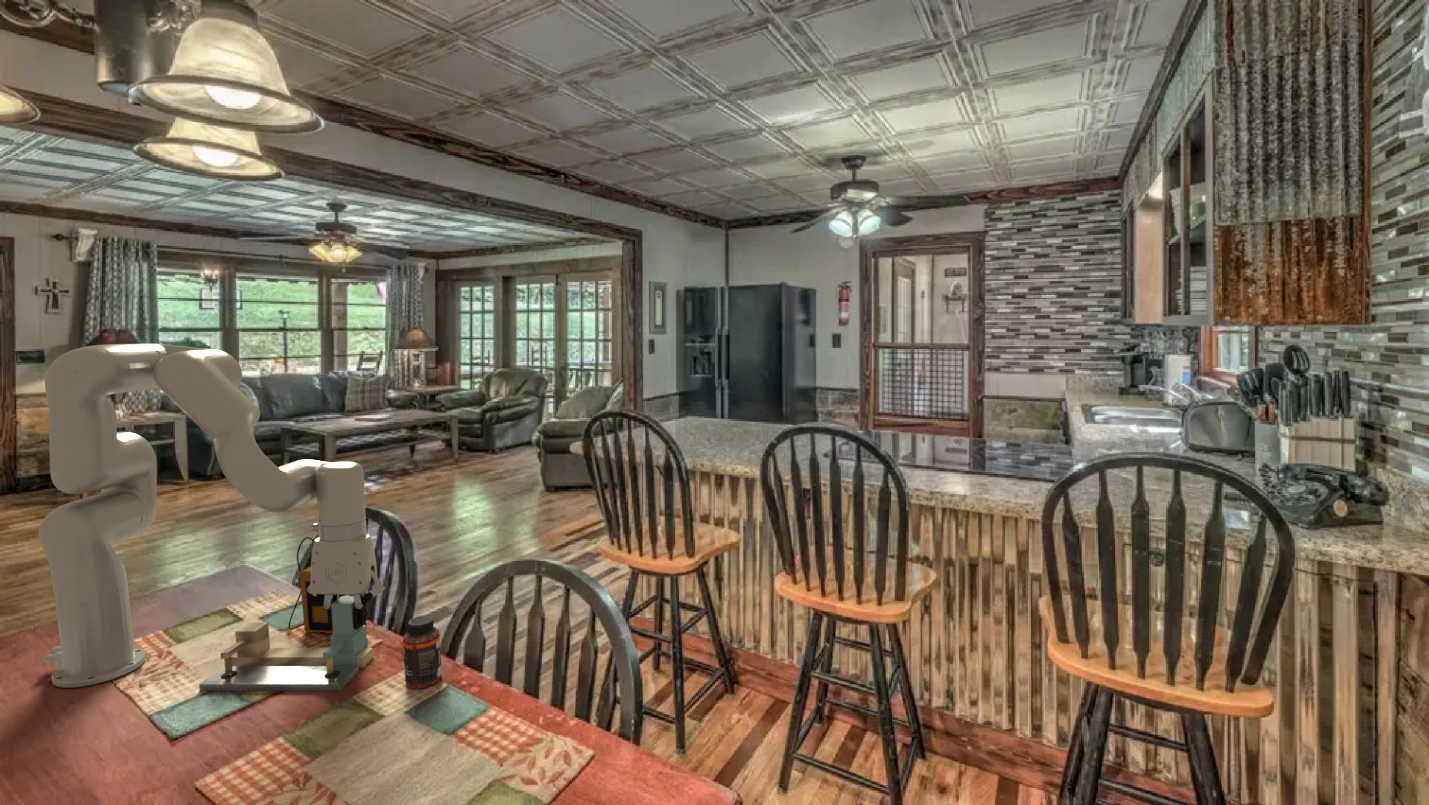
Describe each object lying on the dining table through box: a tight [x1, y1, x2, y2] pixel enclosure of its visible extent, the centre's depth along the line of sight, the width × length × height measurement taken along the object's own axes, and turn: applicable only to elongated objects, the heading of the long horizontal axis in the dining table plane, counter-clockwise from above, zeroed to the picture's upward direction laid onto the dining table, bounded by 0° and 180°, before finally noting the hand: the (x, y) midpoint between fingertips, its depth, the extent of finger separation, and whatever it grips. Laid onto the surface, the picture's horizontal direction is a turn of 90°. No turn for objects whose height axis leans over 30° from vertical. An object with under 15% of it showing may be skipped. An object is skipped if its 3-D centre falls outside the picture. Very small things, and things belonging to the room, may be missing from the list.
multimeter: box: [287, 536, 368, 635], centre depth 138 cm, size 15×10×20 cm
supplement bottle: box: [402, 615, 443, 689], centre depth 116 cm, size 6×6×11 cm
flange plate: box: [198, 665, 360, 692], centre depth 117 cm, size 24×6×1 cm, turn 91°
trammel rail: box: [220, 622, 374, 674], centre depth 120 cm, size 24×9×7 cm, turn 91°
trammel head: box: [323, 595, 369, 674], centre depth 120 cm, size 4×10×12 cm, turn 1°
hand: (348, 625), depth 122 cm, fingers closed on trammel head, 3 cm apart
